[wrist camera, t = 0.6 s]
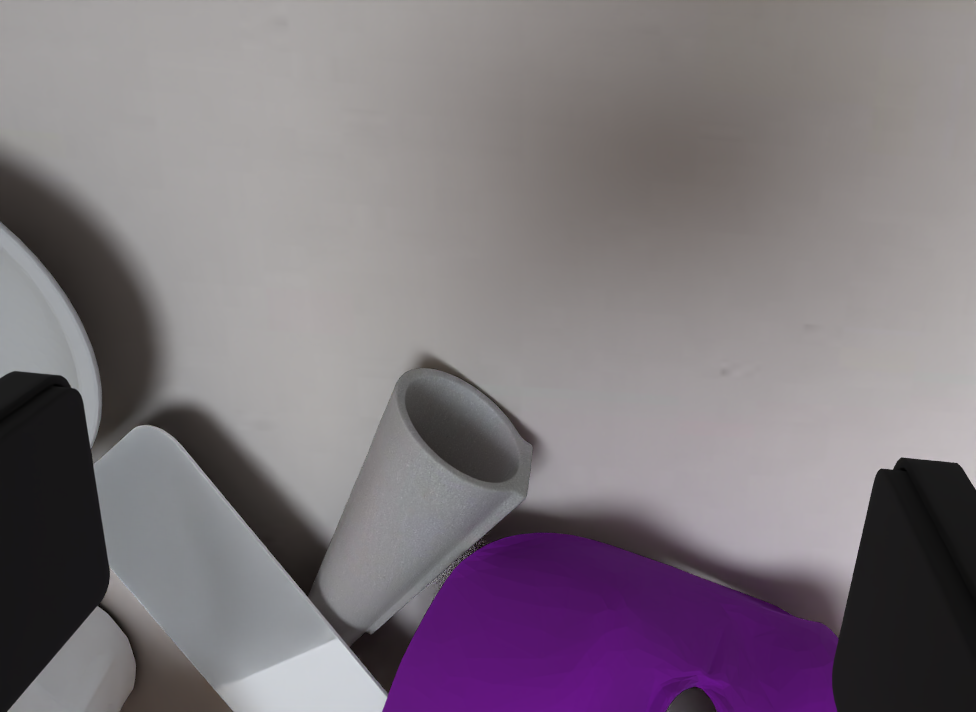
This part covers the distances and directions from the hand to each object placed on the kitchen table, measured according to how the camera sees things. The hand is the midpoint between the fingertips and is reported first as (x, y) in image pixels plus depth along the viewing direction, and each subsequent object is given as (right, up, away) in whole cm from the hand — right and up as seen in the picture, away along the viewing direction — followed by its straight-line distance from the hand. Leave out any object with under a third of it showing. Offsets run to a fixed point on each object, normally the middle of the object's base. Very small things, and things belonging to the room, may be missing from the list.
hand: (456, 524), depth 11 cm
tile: (-8, -9, +27) cm, 29 cm away
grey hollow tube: (-6, -6, +31) cm, 32 cm away
